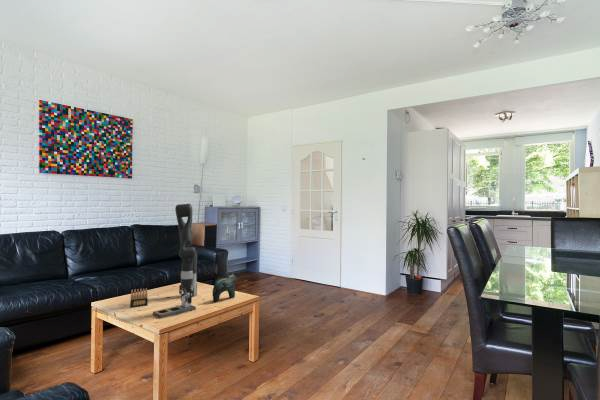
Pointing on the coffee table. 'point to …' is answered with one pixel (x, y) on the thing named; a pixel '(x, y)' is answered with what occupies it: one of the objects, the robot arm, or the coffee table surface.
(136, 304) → the ammunition clip
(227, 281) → the dark green animal figure
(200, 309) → the coffee table surface
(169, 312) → the grey peg board
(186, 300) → the grey metal block
